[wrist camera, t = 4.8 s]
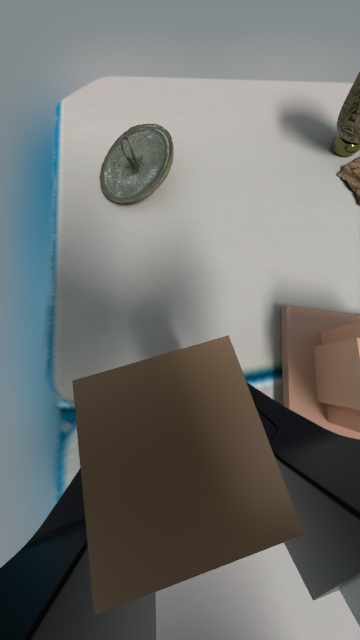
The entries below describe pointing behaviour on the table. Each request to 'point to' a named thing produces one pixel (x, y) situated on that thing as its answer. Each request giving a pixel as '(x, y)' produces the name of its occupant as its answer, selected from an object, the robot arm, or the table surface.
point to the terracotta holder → (322, 367)
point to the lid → (137, 163)
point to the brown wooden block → (175, 472)
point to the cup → (349, 123)
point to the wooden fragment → (352, 176)
